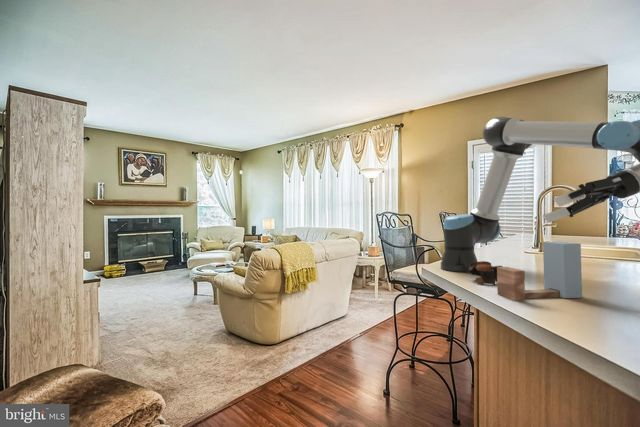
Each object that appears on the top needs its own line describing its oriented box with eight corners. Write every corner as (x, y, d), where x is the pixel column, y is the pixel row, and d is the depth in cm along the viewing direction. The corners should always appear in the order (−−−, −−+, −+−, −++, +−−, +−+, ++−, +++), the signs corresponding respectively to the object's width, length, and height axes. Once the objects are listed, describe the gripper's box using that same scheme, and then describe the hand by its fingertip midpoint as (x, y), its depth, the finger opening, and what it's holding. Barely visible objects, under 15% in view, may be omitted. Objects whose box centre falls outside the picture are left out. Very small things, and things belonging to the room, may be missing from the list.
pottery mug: (467, 285, 103) (462, 262, 108) (474, 292, 110) (469, 270, 114) (507, 279, 97) (500, 255, 101) (512, 287, 103) (505, 264, 108)
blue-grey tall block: (565, 298, 83) (563, 244, 83) (544, 291, 90) (543, 242, 90) (582, 297, 83) (580, 243, 83) (560, 291, 90) (558, 241, 90)
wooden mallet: (514, 301, 82) (513, 271, 82) (497, 294, 89) (496, 267, 89) (587, 298, 83) (586, 268, 83) (565, 291, 90) (564, 265, 90)
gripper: (664, 171, 75) (570, 205, 80) (620, 208, 96) (548, 234, 101) (641, 148, 78) (553, 183, 84) (603, 189, 99) (535, 215, 105)
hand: (550, 211), depth 92 cm, fingers open, 13 cm apart
